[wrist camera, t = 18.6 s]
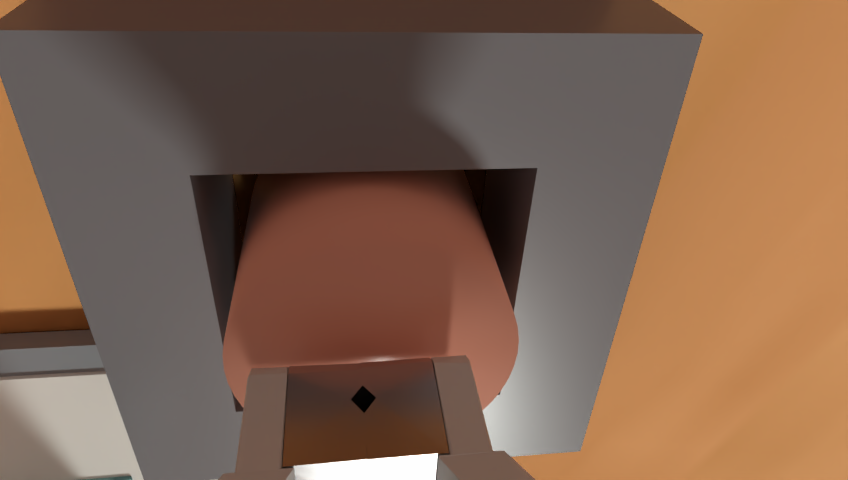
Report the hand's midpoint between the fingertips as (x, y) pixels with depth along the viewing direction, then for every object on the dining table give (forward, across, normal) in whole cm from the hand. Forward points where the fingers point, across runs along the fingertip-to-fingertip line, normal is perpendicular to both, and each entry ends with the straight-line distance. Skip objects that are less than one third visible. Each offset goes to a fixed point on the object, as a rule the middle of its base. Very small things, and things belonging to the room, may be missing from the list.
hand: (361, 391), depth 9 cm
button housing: (+5, 0, 0) cm, 5 cm away
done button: (+5, 0, 0) cm, 5 cm away
